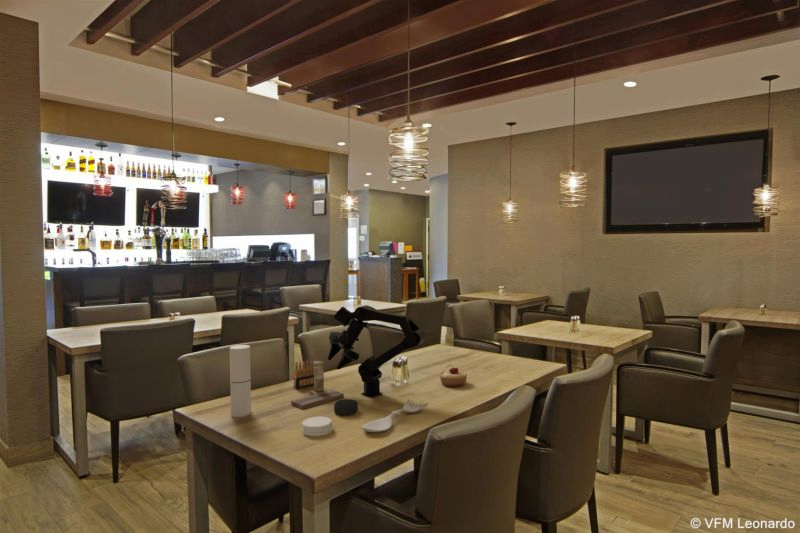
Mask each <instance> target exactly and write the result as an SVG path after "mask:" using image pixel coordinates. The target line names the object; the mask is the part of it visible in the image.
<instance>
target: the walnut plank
mask: <svg viewBox="0 0 800 533" xmlns="http://www.w3.org/2000/svg"><path fill="white" fill-rule="evenodd" d="M344 395H345V394H344V393H343V392H340V391H338V390H334V389H330V390H328V391H326V392H322V393H318V394H315V395H308V396H304V397H300V398H297V399H292V400H291V401H290V405H291V406H293V407H296V408H297V409H301V410H305V409H308V408H311V407H312V408H313V407H315V406H318V405H322V404H326V403H328V402H332V401H337V400H341V399H344Z"/></svg>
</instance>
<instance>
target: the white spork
mask: <svg viewBox="0 0 800 533" xmlns="http://www.w3.org/2000/svg"><path fill="white" fill-rule="evenodd" d="M428 404H429V402H426V403H423V402H422V403H418V402H417V403H416V402H415V401H413V400H411V399H410V398H408V399H407V401H406V402H405V403H404V405H403V406H402V408H399V409H396V410H392V411H391V413H389V415H386V416H385V417H382V418H378V419H375V420H372V421H369V422H367V423H365V424H362V426H361V428H362V429H363V431H366V432H370V433H381V432H385V431H388V430H389V429H390V428H392V426H393V420H392V419H393V417H394V416H397V415H400V414H401V413H402V412H403V413H406V414H407V413H408V414H411V413H416V412H419V411H420V410H422V409H424V408H426V407H427V406H428Z"/></svg>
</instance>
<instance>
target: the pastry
mask: <svg viewBox="0 0 800 533" xmlns="http://www.w3.org/2000/svg"><path fill="white" fill-rule="evenodd" d="M449 366H451V368H450V369H447V368H448V367H449ZM445 369H447V370H445V371H442V372H441V373H440V375H439V376H440V377H439V378H440V382H441V384H442V386H445V387H447V388H460V387H463V386H465V384H466V382H467V378H468V377H467V373H465V372H463V371H461V370H459V368H458V367H454V366H453V365H452V364H449V365H448V364H447V366H446V367H445Z"/></svg>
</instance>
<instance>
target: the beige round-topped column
mask: <svg viewBox="0 0 800 533" xmlns="http://www.w3.org/2000/svg"><path fill="white" fill-rule="evenodd" d="M313 365H314V386H313V390H310V391H309V396H311V395H315V394H318V393H322V392H326V391H329V390H328V389H325V387H324V385H325V383H324V382H325V378H324V376H325V375H324V374H325V371H324V370H325V368H324V365H325V361H323V360H315V362H313V361H312V366H313Z"/></svg>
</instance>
